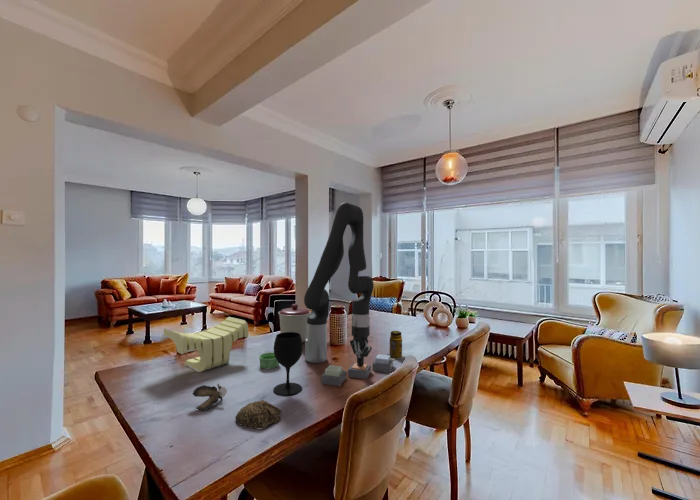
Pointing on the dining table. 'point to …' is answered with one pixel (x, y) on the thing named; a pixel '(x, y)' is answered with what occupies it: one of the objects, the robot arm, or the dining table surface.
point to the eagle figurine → (210, 392)
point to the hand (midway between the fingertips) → (360, 365)
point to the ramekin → (268, 360)
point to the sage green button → (334, 370)
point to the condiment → (395, 345)
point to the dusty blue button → (383, 359)
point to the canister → (294, 320)
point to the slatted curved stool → (210, 343)
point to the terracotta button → (360, 367)
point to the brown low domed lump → (258, 414)
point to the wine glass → (287, 359)
